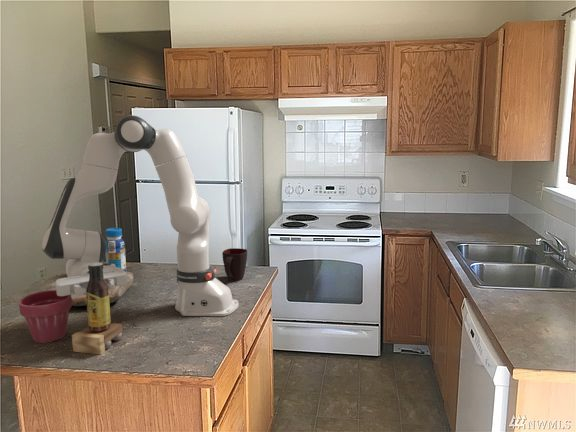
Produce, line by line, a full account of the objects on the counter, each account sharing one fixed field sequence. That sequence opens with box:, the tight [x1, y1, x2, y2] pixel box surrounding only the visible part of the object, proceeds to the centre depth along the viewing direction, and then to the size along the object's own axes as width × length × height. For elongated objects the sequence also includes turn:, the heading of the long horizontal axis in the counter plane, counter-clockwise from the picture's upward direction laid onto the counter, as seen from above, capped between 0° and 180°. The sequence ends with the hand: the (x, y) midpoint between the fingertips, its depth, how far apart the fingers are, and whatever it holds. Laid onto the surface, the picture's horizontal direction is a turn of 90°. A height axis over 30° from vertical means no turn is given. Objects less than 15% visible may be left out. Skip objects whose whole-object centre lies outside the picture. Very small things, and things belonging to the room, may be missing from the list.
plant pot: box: [18, 290, 73, 344], centre depth 148 cm, size 14×14×13 cm
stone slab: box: [45, 271, 135, 307], centre depth 184 cm, size 31×29×6 cm
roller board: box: [71, 322, 124, 355], centre depth 143 cm, size 9×11×5 cm
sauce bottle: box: [86, 262, 112, 332], centre depth 142 cm, size 7×6×20 cm
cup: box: [221, 247, 248, 282], centre depth 203 cm, size 10×14×12 cm
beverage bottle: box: [105, 227, 127, 272], centre depth 213 cm, size 8×8×20 cm
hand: (97, 289), depth 141 cm, fingers open, 6 cm apart
